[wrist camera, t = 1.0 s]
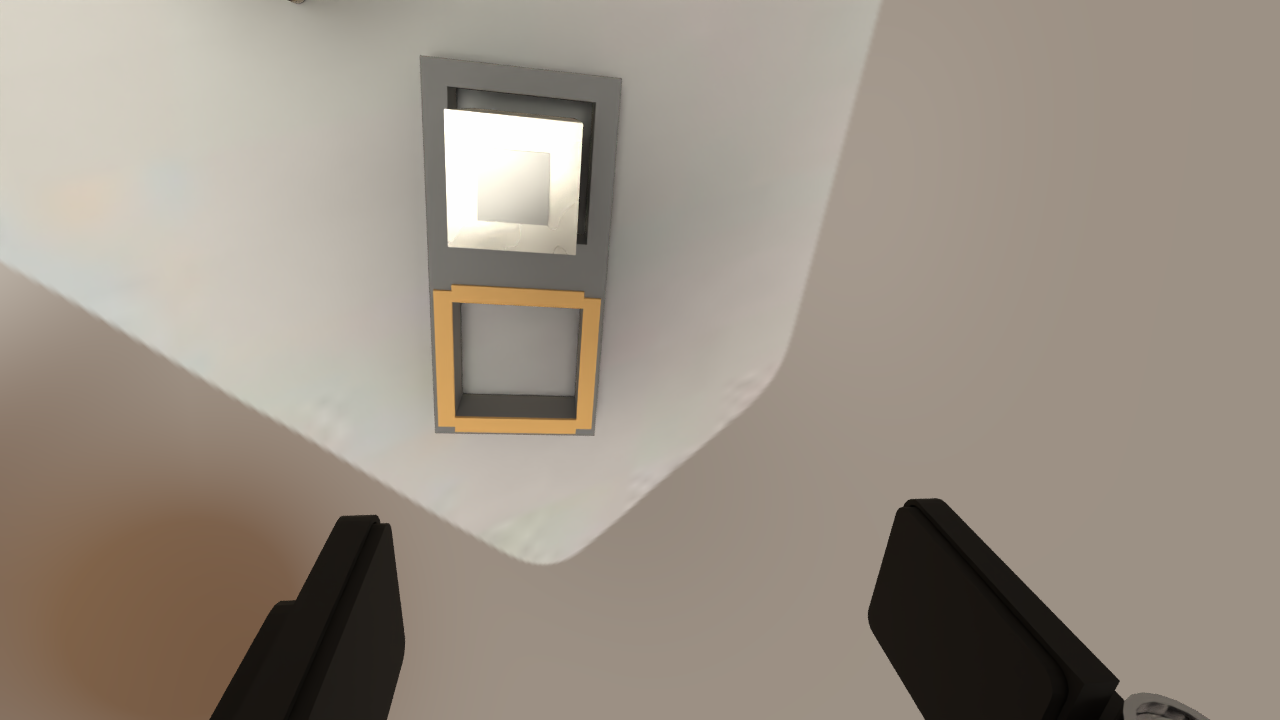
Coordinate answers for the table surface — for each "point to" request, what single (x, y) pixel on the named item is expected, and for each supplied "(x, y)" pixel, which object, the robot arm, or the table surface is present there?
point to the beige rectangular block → (512, 180)
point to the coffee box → (296, 1)
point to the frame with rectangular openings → (516, 256)
